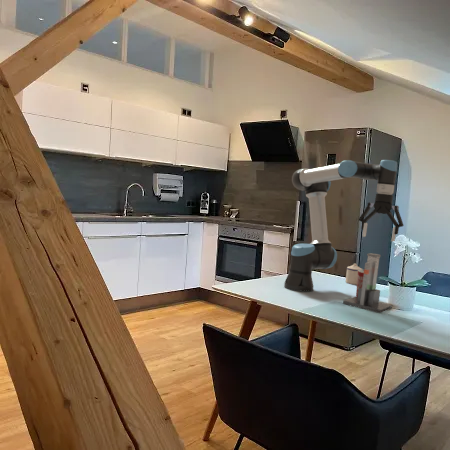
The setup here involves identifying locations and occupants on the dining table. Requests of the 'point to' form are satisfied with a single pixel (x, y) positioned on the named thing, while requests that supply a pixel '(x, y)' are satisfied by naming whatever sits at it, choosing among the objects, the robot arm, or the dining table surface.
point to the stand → (367, 297)
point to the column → (372, 270)
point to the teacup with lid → (352, 274)
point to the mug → (359, 280)
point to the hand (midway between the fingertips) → (378, 238)
